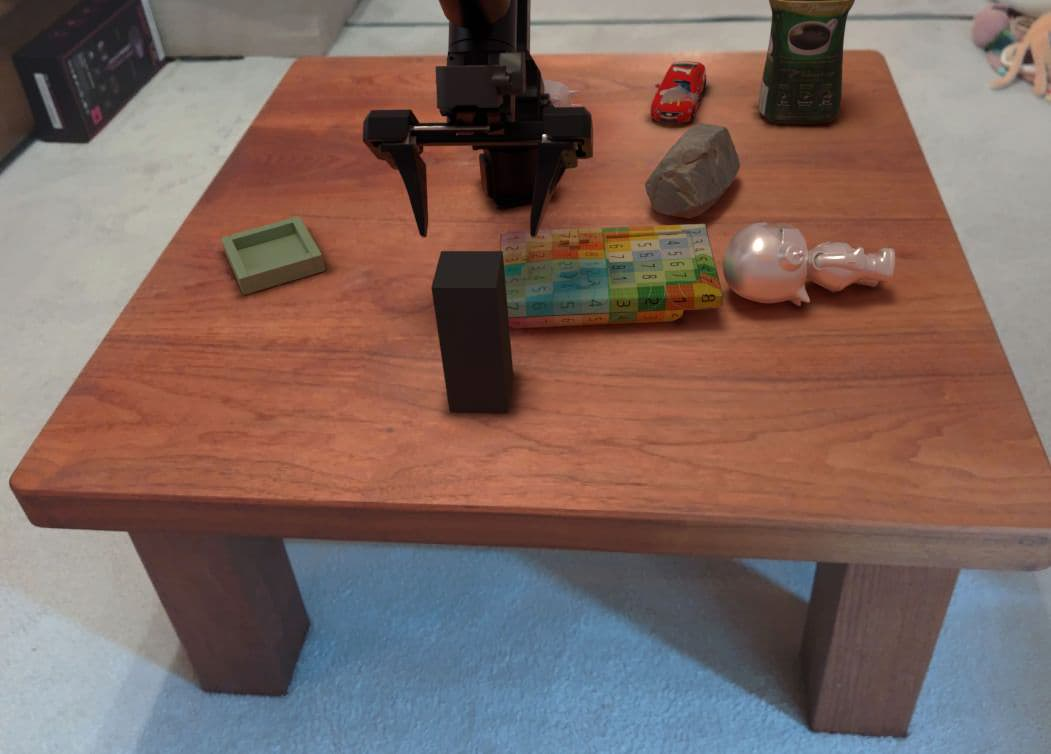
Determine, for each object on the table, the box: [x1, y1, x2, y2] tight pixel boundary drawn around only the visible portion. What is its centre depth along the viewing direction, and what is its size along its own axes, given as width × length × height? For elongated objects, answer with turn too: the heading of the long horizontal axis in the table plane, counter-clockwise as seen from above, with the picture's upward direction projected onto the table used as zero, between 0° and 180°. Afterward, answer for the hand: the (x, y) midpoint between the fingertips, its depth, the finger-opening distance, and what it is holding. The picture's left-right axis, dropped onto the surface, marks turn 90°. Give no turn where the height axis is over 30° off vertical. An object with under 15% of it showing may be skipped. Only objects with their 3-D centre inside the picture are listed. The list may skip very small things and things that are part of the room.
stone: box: [644, 122, 741, 219], centre depth 106 cm, size 12×8×8 cm, turn 152°
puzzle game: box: [499, 223, 724, 329], centre depth 95 cm, size 12×5×20 cm
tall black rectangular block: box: [430, 250, 514, 414], centre depth 82 cm, size 5×5×13 cm
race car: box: [650, 60, 707, 124], centre depth 124 cm, size 13×5×4 cm, turn 161°
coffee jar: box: [758, 0, 856, 125], centre depth 116 cm, size 10×8×19 cm
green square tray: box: [220, 215, 326, 296], centre depth 103 cm, size 8×8×2 cm
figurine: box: [722, 221, 896, 307], centre depth 92 cm, size 11×7×15 cm
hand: (477, 236), depth 83 cm, fingers open, 9 cm apart
